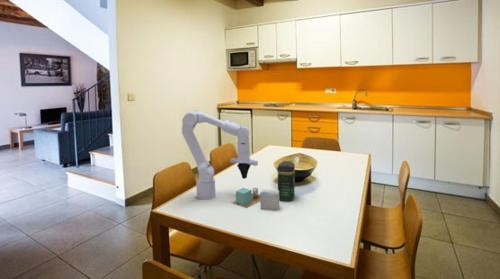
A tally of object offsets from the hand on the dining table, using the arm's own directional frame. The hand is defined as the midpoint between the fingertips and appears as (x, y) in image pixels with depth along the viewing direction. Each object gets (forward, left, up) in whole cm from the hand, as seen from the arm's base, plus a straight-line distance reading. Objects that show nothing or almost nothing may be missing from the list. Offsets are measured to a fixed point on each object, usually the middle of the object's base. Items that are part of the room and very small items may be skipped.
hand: (244, 177), depth 148 cm
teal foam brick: (+6, -7, -9) cm, 13 cm away
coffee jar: (+18, +10, -10) cm, 23 cm away
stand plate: (+6, -3, -10) cm, 12 cm away
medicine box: (+19, -4, -10) cm, 22 cm away
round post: (+6, +1, -9) cm, 11 cm away
